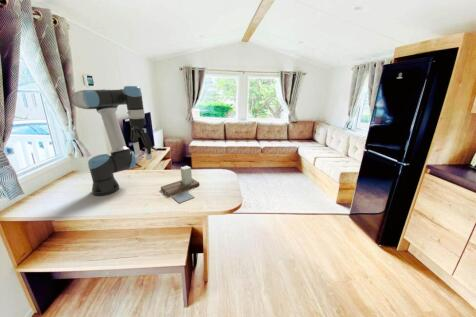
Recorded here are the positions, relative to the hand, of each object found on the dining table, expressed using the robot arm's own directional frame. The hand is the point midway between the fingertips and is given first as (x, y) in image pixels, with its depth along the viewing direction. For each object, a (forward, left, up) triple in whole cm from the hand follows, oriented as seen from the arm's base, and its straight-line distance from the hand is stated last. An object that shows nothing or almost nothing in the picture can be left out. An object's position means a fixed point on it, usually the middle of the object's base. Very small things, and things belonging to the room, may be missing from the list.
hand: (143, 156), depth 113 cm
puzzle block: (-3, +26, -28) cm, 38 cm away
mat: (+10, +16, -28) cm, 34 cm away
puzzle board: (-3, +21, -28) cm, 35 cm away
